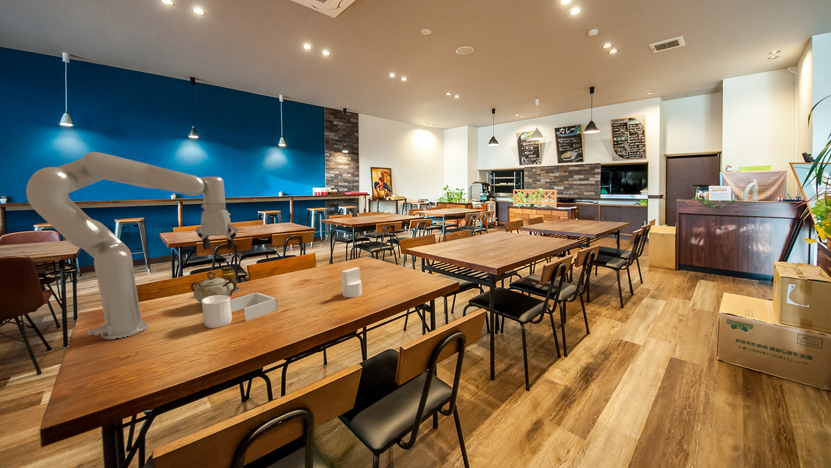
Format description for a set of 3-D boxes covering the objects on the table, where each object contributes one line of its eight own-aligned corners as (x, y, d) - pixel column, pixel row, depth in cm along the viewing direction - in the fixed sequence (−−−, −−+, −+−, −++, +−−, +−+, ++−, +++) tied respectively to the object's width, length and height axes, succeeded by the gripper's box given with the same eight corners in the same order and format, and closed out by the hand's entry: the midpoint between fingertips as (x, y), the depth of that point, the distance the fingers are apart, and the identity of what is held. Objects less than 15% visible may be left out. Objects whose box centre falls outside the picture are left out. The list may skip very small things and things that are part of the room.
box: (246, 321, 125) (245, 308, 124) (227, 312, 133) (226, 301, 132) (277, 309, 135) (276, 298, 134) (257, 303, 144) (256, 292, 143)
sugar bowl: (181, 311, 135) (176, 276, 133) (203, 298, 150) (200, 267, 148) (228, 310, 135) (224, 276, 133) (246, 298, 150) (243, 266, 148)
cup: (219, 329, 118) (216, 304, 116) (196, 327, 120) (193, 302, 118) (238, 319, 127) (236, 295, 125) (216, 317, 129) (214, 293, 127)
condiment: (221, 294, 156) (218, 270, 155) (222, 289, 164) (219, 266, 162) (238, 291, 160) (236, 268, 158) (238, 286, 167) (236, 264, 165)
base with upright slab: (351, 298, 147) (350, 273, 145) (338, 294, 153) (337, 270, 151) (365, 293, 154) (364, 268, 153) (352, 289, 160) (351, 266, 158)
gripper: (187, 208, 128) (191, 250, 130) (231, 208, 128) (235, 250, 130) (199, 207, 135) (203, 247, 138) (241, 206, 135) (244, 247, 138)
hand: (218, 248), depth 134 cm, fingers open, 9 cm apart
